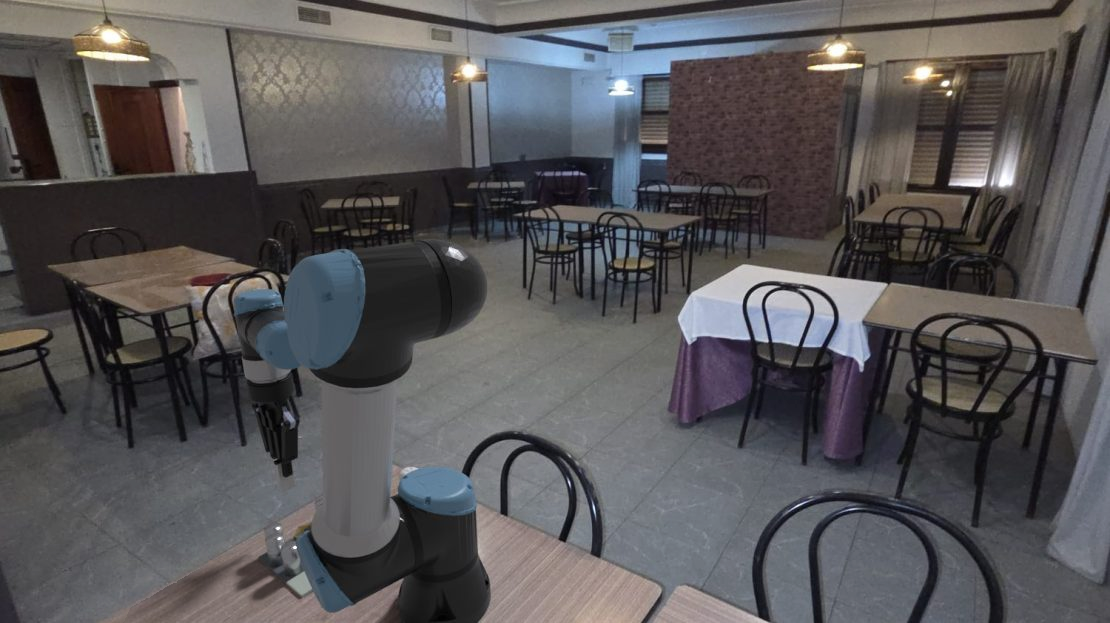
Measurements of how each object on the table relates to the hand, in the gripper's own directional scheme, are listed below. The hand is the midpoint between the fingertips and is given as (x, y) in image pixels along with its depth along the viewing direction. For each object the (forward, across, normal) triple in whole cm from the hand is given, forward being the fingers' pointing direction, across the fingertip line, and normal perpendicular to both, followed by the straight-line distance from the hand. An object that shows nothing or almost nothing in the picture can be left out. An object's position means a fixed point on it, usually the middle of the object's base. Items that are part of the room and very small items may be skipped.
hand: (286, 488), depth 112 cm
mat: (+10, -10, 0) cm, 14 cm away
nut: (+9, -7, 0) cm, 12 cm away
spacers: (+9, -7, 0) cm, 12 cm away
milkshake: (+10, -13, -19) cm, 25 cm away
